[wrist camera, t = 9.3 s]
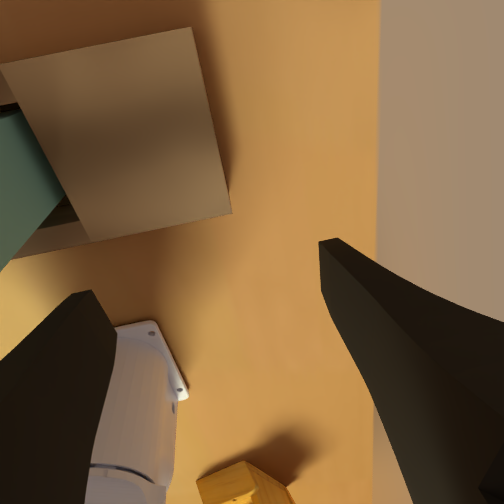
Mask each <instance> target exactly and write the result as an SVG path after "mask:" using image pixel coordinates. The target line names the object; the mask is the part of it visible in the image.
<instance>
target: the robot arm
mask: <svg viewBox="0 0 504 504" xmlns="http://www.w3.org/2000/svg"><path fill="white" fill-rule="evenodd" d="M319 261H320V279H321V292H322V294H323V297H324V300H325V303H326V305H327V308H328V310H329V313H330V316H331V318H332V320H333V322H334V324H335V326H336V328H337V330H338V331H339V333H340V335H341V337H342V339H343V341H344V343H345V345H346V347H347V349H348V350H349V352H350V354H351V356H352V358H353V360H354V362H355V364H356V365H357V367H358V369H359V371H360V373H361V375H362V377H363V379H364V381H365V383H366V385H367V387H368V389H369V392H370V394H371V396H372V399H373V401H374V404H375V406H376V408H377V411H378V413H379V416H380V418H381V421H382V423H383V426H384V428H385V431H386V433H387V436H388V438H389V441H390V443H391V446H392V449H393V451H394V453H395V456H396V459H397V461H398V464H399V467H400V469H401V472H402V475H403V477H404V480H405V483H406V485H407V488H408V491H409V493H410V496H411V499H412V501H413V504H504V322H501V321H499V320H496V319H493V318H490V317H488V316H485V315H482V314H480V313H477V312H474V311H472V310H469V309H467V308H464V307H462V306H459V305H457V304H455V303H453V302H450V301H448V300H446V299H444V298H441V297H439V296H437V295H435V294H433V293H430V292H428V291H426V290H424V289H422V288H420V287H418V286H416V285H415V284H413V283H411V282H409V281H407V280H405V279H403V278H401V277H399V276H398V275H396V274H394V273H393V272H391V271H389V270H388V269H386V268H384V267H382V266H381V265H379V264H378V263H376V262H374V261H373V260H371V259H370V258H368V257H366V256H365V255H363V254H362V253H360V252H359V251H357V250H356V249H354V248H353V247H351V246H350V245H348V244H347V243H345V242H344V241H342V240H340V239H339V238H333V239H329V240H324V241H319ZM150 331H154V332H150ZM188 397H189V391H188V389H187V387H186V384H185V382H184V380H183V378H182V376H181V374H180V372H179V370H178V367H177V365H176V363H175V361H174V359H173V357H172V355H171V353H170V351H169V348H168V346H167V344H166V342H165V340H164V338H163V336H162V334H161V332H160V329H159V327H158V325H157V323H156V322H154V321H151V320H148V321H143V322H138V323H133V324H129V325H124V326H119V327H115V328H114V327H113V325H112V324H111V322H110V320H109V318H108V317H107V315H106V313H105V312H104V310H103V308H102V307H101V305H100V303H99V301H98V300H97V298H96V296H95V295H94V293H93V291H92V290H87V291H82V292H78V293H73V294H71V295H70V296H69V297H67V298H66V299H65V300H64V301H63V302H62V303H61V304H60V305H59V306H57V307H56V308H55V309H54V310H53V311H52V312H51V313H50V314H49V315H48V316H47V317H46V318H45V319H44V320H43V321H42V322H41V323H40V324H39V325H38V326H37V327H36V328H35V329H34V330H33V331H32V332H31V333H30V334H28V335H27V336H26V337H25V338H24V339H23V340H22V341H21V342H20V343H19V344H18V345H17V346H16V347H15V348H14V349H13V350H12V351H11V352H10V353H8V354H7V355H6V356H5V357H4V358H3V359H2V360H1V361H0V504H165V502H166V492H167V490H168V488H169V485H170V483H171V480H172V476H173V470H174V456H175V439H176V423H177V406H178V401H180V400H185V399H187V398H188Z"/></svg>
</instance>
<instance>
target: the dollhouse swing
mask: <svg viewBox="0 0 504 504" xmlns="http://www.w3.org/2000/svg"><path fill="white" fill-rule="evenodd" d="M196 484H197V487H198V490H199V493H200V496H201V499H202V502H203V504H295V502H294V500H293V498H292V497H291V495H290V493H289V491H288V490H287V488H286V487H285V486H284V485H282V484H281V483H279V482H278V481H276V480H275V479H273V478H272V477H270V476H269V475H267V474H265V473H264V472H262V471H261V470H259V469H258V468H256V467H255V466H253V465H252V464H250V463H248V462H246V461H245V460H243V461H241V462H238V463H236V464H234V465H231V466H229V467H227V468H225V469H222V470H220V471H218V472H215V473H213V474H211V475H209V476H206V477H204V478H202V479H199V480H197V481H196Z"/></svg>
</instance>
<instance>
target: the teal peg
mask: <svg viewBox="0 0 504 504" xmlns="http://www.w3.org/2000/svg"><path fill="white" fill-rule="evenodd" d="M65 195H66V193H65V191H64V189H63V187H62V185H61V183H60V182H59V180H58V178H57V176H56V174H55V172H54V170H53V168H52V166H51V164H50V163H49V161H48V159H47V157H46V155H45V153H44V151H43V149H42V147H41V146H40V144H39V142H38V140H37V138H36V136H35V134H34V132H33V130H32V129H31V127H30V125H29V123H28V121H27V119H26V117H25V115H24V113H23V112H22V110H21V109H17V110H12V111H6V112H1V113H0V272H1V270H2V269H3V268H4V267H5V266H6V265H7V263H8V262H9V261H10V260H11V259H12V257H13V256H14V255H15V254H16V253H17V252H18V250H19V249H20V248H21V247H22V246H23V244H24V243H25V242H26V241H27V240H28V239H29V237H30V236H31V235H32V234H33V233H34V231H35V230H36V229H37V228H38V227H39V226H40V224H41V223H42V222H43V221H44V220H45V218H46V217H47V216H48V215H49V214H50V213H51V211H52V210H53V209H54V208H55V207H56V205H57V204H58V203H59V202H60V201H61V199H62V198H63V197H64V196H65Z"/></svg>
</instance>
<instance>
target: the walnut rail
mask: <svg viewBox="0 0 504 504" xmlns="http://www.w3.org/2000/svg"><path fill="white" fill-rule="evenodd" d="M15 102H18V104H19V106H20V108H21V110H22V112H23V113H24V115H25V117H26V119H27V121H28V123H29V125H30V127H31V129H32V130H33V132H34V134H35V136H36V138H37V140H38V142H39V144H40V146H41V147H42V149H43V151H44V153H45V155H46V157H47V159H48V161H49V163H50V164H51V166H52V168H53V170H54V172H55V174H56V176H57V178H58V180H59V182H60V183H61V185H62V187H63V189H64V191H65V193H66V195H67V197H68V199H69V200H70V202H71V204H70V205H65V206H60V207H55V208H54V209H53V210H52V211H51V213H50V214H49V215H48V216H47V217H46V218H45V220H44V221H43V222H42V223H41V224H40V226H39V227H38V228H37V229H36V230H35V231H34V233H33V234H32V235H31V236H30V237H29V239H28V240H27V241H26V242H25V243H24V244H23V246H22V247H21V248H20V249H19V250H18V252H17V253H16V254H15V255H14V256H13V257H12V259H17V258H22V257H26V256H31V255H36V254H41V253H46V252H50V251H55V250H60V249H65V248H70V247H74V246H79V245H84V244H89V243H94V242H98V241H103V240H108V239H113V238H118V237H122V236H127V235H132V234H137V233H142V232H146V231H151V230H156V229H161V228H166V227H170V226H175V225H180V224H185V223H190V222H194V221H199V220H204V219H209V218H214V217H218V216H223V215H228V214H232V209H231V203H230V198H229V192H228V188H227V183H226V179H225V174H224V170H223V165H222V161H221V156H220V151H219V147H218V142H217V138H216V133H215V129H214V124H213V120H212V115H211V111H210V106H209V101H208V97H207V92H206V88H205V83H204V79H203V74H202V70H201V65H200V61H199V56H198V51H197V47H196V42H195V38H194V33H193V29H192V27H186V28H181V29H175V30H170V31H165V32H160V33H155V34H150V35H145V36H140V37H135V38H130V39H125V40H120V41H115V42H109V43H104V44H99V45H94V46H89V47H84V48H79V49H74V50H69V51H64V52H59V53H54V54H49V55H44V56H38V57H33V58H28V59H23V60H18V61H13V62H8V63H3V64H0V105H5V104H10V103H15ZM12 259H11V260H12Z"/></svg>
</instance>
